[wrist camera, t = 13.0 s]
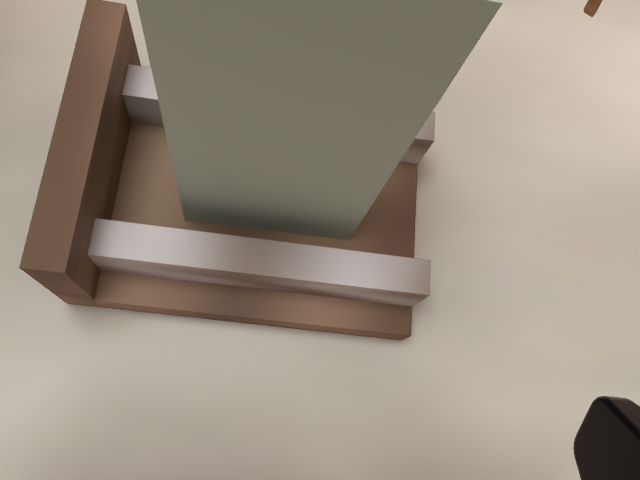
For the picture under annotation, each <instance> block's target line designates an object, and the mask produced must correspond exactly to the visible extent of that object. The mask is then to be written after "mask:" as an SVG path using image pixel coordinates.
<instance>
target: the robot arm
mask: <svg viewBox="0 0 640 480" xmlns="http://www.w3.org/2000/svg"><path fill="white" fill-rule="evenodd" d="M574 455H575V460H576V463H577V467H578V470H579V474H580V477H581V480H640V406H638V405H637V404H635V403H634V402H632V401H631V400H629V399H626V398H618V397H609V396H601V397H598V398H596V399H595V400H594V401H593V402H592V404H591V406H590V408H589V410H588V412H587V414H586V416H585V418H584V420H583V422H582V424H581V426H580V429H579V431H578V433H577V435H576V437H575V441H574Z"/></svg>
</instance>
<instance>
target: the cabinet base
mask: <svg viewBox="0 0 640 480" xmlns="http://www.w3.org/2000/svg"><path fill="white" fill-rule="evenodd" d="M434 125H435V112H433V111H432V113H431V114H430V116H429V117H428V119H427V120H426V122H425V123H424V125H423V127H422V128H421V130H420V131H419V133H418V134H417V136H416V137H415V139H414V140H413V142H412V144H411V145H410V147H409V148H408V150H407V151H406V153H405V154H404V156H403V157H402V159H401V161H400V162H399V164H398V165H397V167H396V168H395V170H394V171H393V173H392V174H391V176H390V178H389V179H388V181H387V182H386V184H385V185H384V187H383V188H382V190H381V191H380V193H379V195H378V196H377V198H376V199H375V201H374V202H373V204H372V205H371V207H370V208H369V210H368V211H367V213H366V215H365V216H364V218H363V219H362V221H361V222H360V224H359V225H358V227H357V228H356V230H355V232H354V233H353V235H352V236H351V238H350V239H349V240H342V239H334V238H325V237H317V236H309V235H301V234H293V233H285V232H276V231H268V230H260V229H252V228H244V227H235V226H227V225H219V224H211V223H203V222H195V221H186V220H184V215H183V211H182V206H181V202H180V197H179V193H178V188H177V183H176V179H175V174H174V170H173V165H172V161H171V156H170V151H169V147H168V142H167V138H166V133H165V129H164V124H163V119H162V115H161V110H160V106H159V101H158V97H157V92H156V87H155V83H154V78H153V74H152V69H151V68H150V67H143V66H141V64H140V60H139V56H138V52H137V48H136V44H135V40H134V36H133V32H132V28H131V23H130V19H129V15H128V11H127V7H126V4H121V3H115V2H109V1H103V0H87V2H86V6H85V10H84V14H83V18H82V22H81V26H80V30H79V34H78V37H77V41H76V45H75V49H74V53H73V57H72V61H71V65H70V69H69V73H68V77H67V81H66V85H65V89H64V93H63V97H62V101H61V105H60V109H59V113H58V117H57V121H56V125H55V129H54V132H53V136H52V140H51V144H50V148H49V152H48V156H47V160H46V164H45V168H44V172H43V176H42V180H41V184H40V188H39V192H38V196H37V200H36V204H35V208H34V212H33V216H32V220H31V223H30V227H29V231H28V235H27V239H26V243H25V247H24V251H23V255H22V259H21V263H20V267H19V268H20V269H22V270H23V271H24V272H26V273H27V274H28V275H30V276H31V277H32V278H34V279H35V280H36V281H38V282H39V283H40V284H42V285H43V286H44V287H46V288H47V289H48V290H50V291H51V292H52V293H54V294H55V295H56V296H58V297H59V298H60V299H62V300H63V301H64V302H66V303H69V304H78V305H87V306H96V307H105V308H114V309H124V310H133V311H142V312H151V313H160V314H169V315H178V316H187V317H197V318H206V319H215V320H224V321H233V322H242V323H251V324H261V325H270V326H279V327H288V328H297V329H306V330H315V331H324V332H334V333H343V334H352V335H361V336H370V337H379V338H388V339H398V340H403V339H405V338H407V337H409V336H411V321H412V306H414V305H415V304H417V303H418V302H420V301H421V300H423V299H425V298H426V297H428V296H429V295H430V268H431V260H424V259H416V258H414V241H415V214H416V188H417V164H418V163H419V161H420V160H421V158H422V157H423V156H424V154H425V153H426V151H427V150H428V149H429V147H430V146H431V145H432V143H433V142H434Z"/></svg>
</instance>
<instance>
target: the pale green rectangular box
mask: <svg viewBox="0 0 640 480" xmlns="http://www.w3.org/2000/svg"><path fill="white" fill-rule="evenodd" d="M136 1H137V5H138V10H139V14H140V19H141V24H142V28H143V33H144V37H145V42H146V46H147V51H148V55H149V60H150V65H151V69H152V74H153V78H154V83H155V87H156V92H157V97H158V101H159V106H160V110H161V115H162V119H163V124H164V129H165V133H166V138H167V142H168V147H169V151H170V156H171V161H172V165H173V170H174V174H175V179H176V183H177V188H178V193H179V197H180V202H181V206H182V211H183V215H184V220H186V221H195V222H203V223H211V224H219V225H227V226H235V227H244V228H252V229H260V230H268V231H276V232H285V233H293V234H301V235H309V236H317V237H325V238H334V239H342V240H349V239H350V238H351V236H352V235H353V233H354V232H355V230H356V228H357V227H358V225H359V224H360V222H361V221H362V219H363V218H364V216H365V215H366V213H367V211H368V210H369V208H370V207H371V205H372V204H373V202H374V201H375V199H376V198H377V196H378V195H379V193H380V191H381V190H382V188H383V187H384V185H385V184H386V182H387V181H388V179H389V178H390V176H391V174H392V173H393V171H394V170H395V168H396V167H397V165H398V164H399V162H400V161H401V159H402V157H403V156H404V154H405V153H406V151H407V150H408V148H409V147H410V145H411V144H412V142H413V140H414V139H415V137H416V136H417V134H418V133H419V131H420V130H421V128H422V127H423V125H424V123H425V122H426V120H427V119H428V117H429V116H430V114H431V113H432V111H433V110H434V108H435V107H436V105H437V103H438V102H439V100H440V99H441V97H442V96H443V94H444V93H445V91H446V90H447V88H448V86H449V85H450V83H451V82H452V80H453V79H454V77H455V76H456V74H457V73H458V71H459V69H460V68H461V66H462V65H463V63H464V62H465V60H466V59H467V57H468V56H469V54H470V52H471V51H472V49H473V48H474V46H475V45H476V43H477V42H478V40H479V39H480V37H481V35H482V34H483V32H484V31H485V29H486V28H487V26H488V25H489V23H490V22H491V20H492V19H493V17H494V15H495V14H496V12H497V11H498V9H499V8H500V6H501V5H502V0H136Z"/></svg>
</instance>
